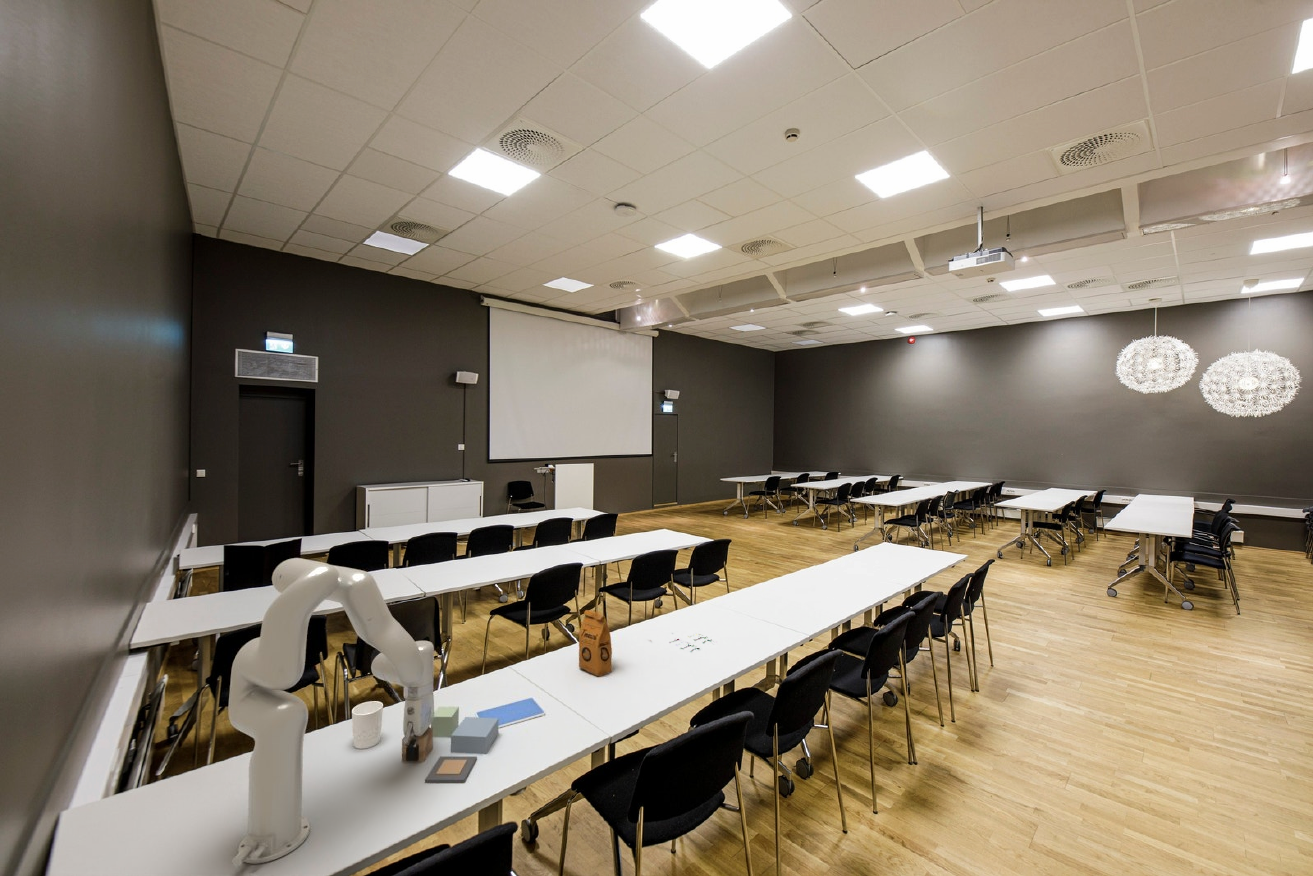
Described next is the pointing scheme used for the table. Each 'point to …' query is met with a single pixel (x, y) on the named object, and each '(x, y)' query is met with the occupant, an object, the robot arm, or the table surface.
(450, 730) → the sage cube
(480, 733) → the base block
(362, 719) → the white cup
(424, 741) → the walnut cube
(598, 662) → the coffee package
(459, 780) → the tile
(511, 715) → the tablet computer
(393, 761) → the table surface
